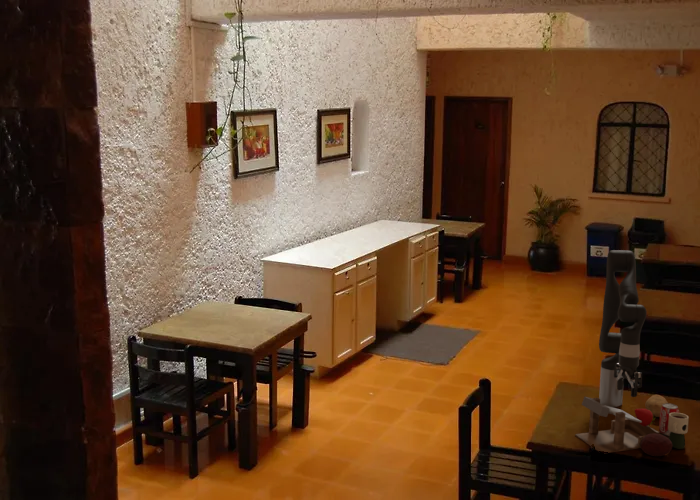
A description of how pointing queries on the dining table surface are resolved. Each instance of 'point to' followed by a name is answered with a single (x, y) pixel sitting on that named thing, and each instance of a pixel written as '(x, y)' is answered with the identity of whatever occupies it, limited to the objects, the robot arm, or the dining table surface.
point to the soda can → (666, 417)
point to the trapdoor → (604, 409)
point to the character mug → (678, 429)
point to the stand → (615, 433)
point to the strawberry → (644, 416)
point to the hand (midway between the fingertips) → (626, 393)
